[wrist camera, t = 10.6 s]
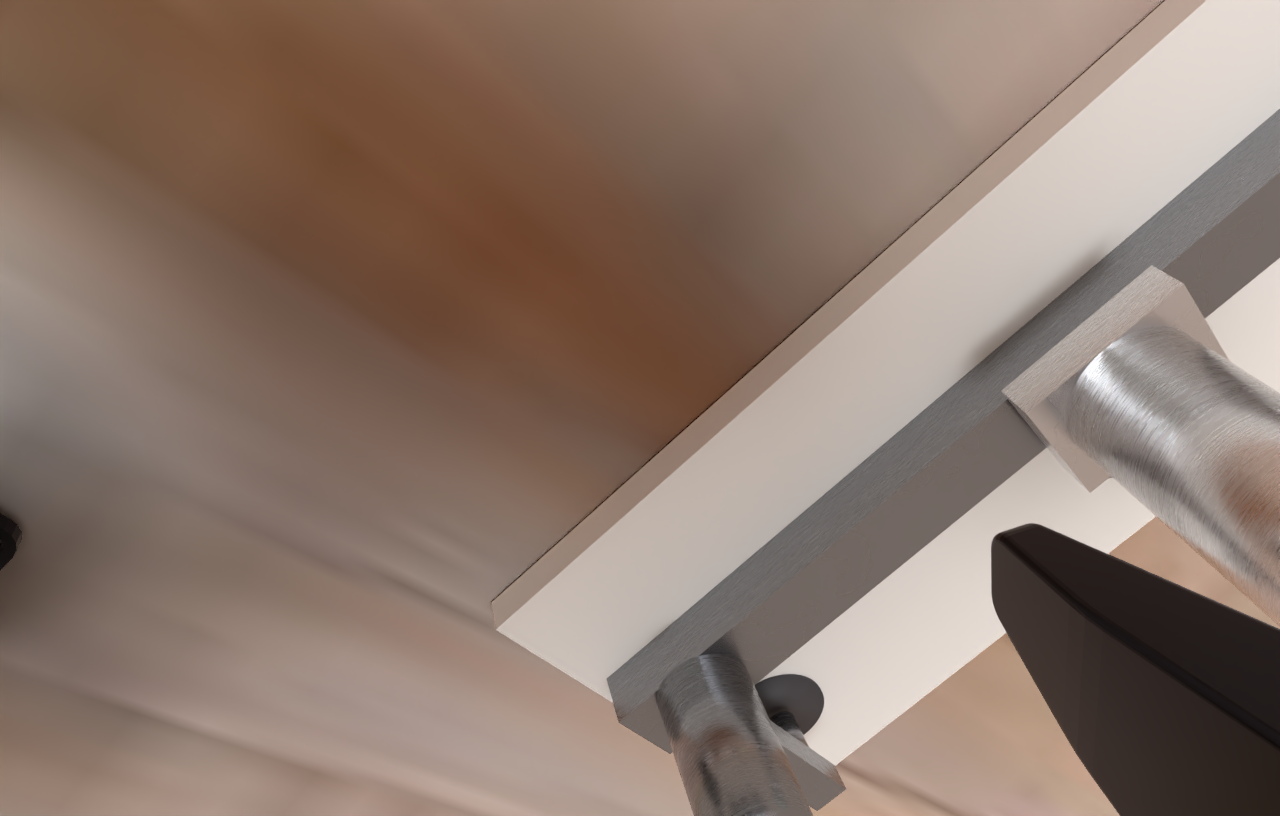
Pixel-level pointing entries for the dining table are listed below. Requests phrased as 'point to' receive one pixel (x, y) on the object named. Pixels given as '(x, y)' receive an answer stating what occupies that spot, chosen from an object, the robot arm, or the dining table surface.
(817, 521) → the rail
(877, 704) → the bolt plate
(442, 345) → the dining table surface
